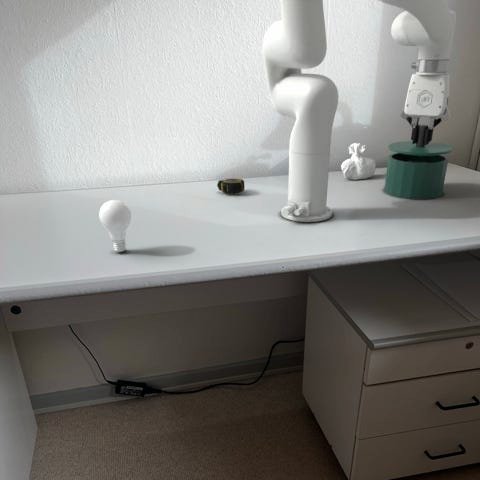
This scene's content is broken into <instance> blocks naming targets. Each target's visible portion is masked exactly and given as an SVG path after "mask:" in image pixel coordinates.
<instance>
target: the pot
mask: <svg viewBox="0 0 480 480" xmlns="http://www.w3.org/2000/svg"><path fill="white" fill-rule="evenodd" d="M449 160H450V159H449V157H448V156H447V155H444V154H441V155H435V156H413V155H405V154H401V153H397V152H393V153H391V154H389V155H388V158H387V165H386V174H385V181H384V182H385V183H384V193H386V194H388V195H389V196H392V197H395V198H400V199H406V200H432V199H436V198H440V197H441V196H442V195H443V191H444V186H445V181H446V175H447V169H448V165H449ZM407 161H416V162H425V163H413V162H407Z"/></svg>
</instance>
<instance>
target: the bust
mask: <svg viewBox="0 0 480 480" xmlns="http://www.w3.org/2000/svg"><path fill="white" fill-rule="evenodd" d="M366 147H367V145H366V144H364V145H363V144H361V142H359V143H357V142H354V143H352V144H350V146H348V151H349V152H348V153H349V155H351V157H350V158H347V159H346V160H344V161H343V162H342V164H340V169H341V171H342V173H343V177H344V179H346V180H353V181H357V180H366V179H368V178H371V177H372V176H374V174H375V173H376V167H377V165H376V161H375V160H374V158H370V157H366V156H363V154H364V153H365V152H366Z"/></svg>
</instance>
